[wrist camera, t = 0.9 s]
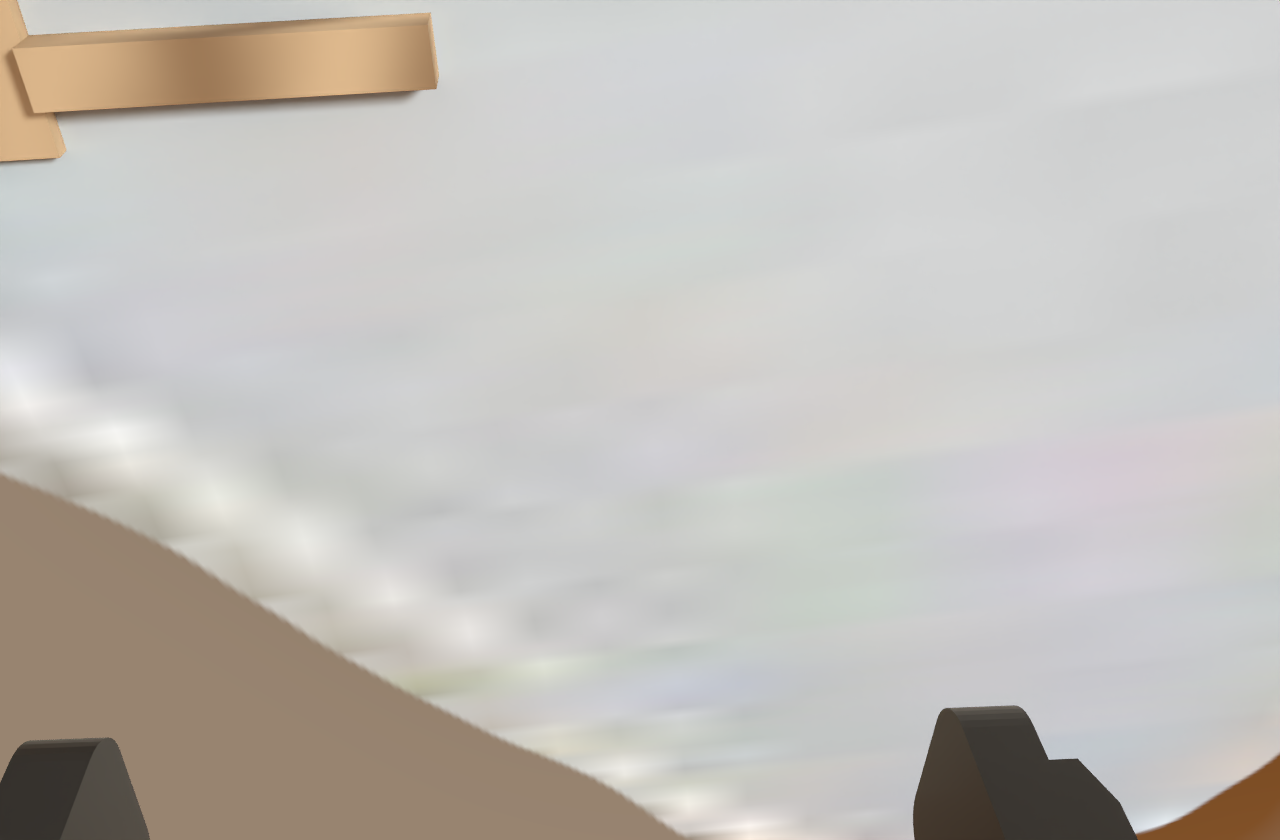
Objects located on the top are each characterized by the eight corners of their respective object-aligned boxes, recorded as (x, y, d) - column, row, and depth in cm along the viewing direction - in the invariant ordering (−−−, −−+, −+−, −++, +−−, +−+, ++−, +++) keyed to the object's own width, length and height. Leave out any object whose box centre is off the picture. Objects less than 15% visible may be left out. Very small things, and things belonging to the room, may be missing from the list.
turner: (423, -46, 28) (419, -35, 27) (445, 125, 31) (443, 141, 30) (-245, -10, 28) (-273, 3, 27) (-166, 163, 30) (-190, 181, 29)
